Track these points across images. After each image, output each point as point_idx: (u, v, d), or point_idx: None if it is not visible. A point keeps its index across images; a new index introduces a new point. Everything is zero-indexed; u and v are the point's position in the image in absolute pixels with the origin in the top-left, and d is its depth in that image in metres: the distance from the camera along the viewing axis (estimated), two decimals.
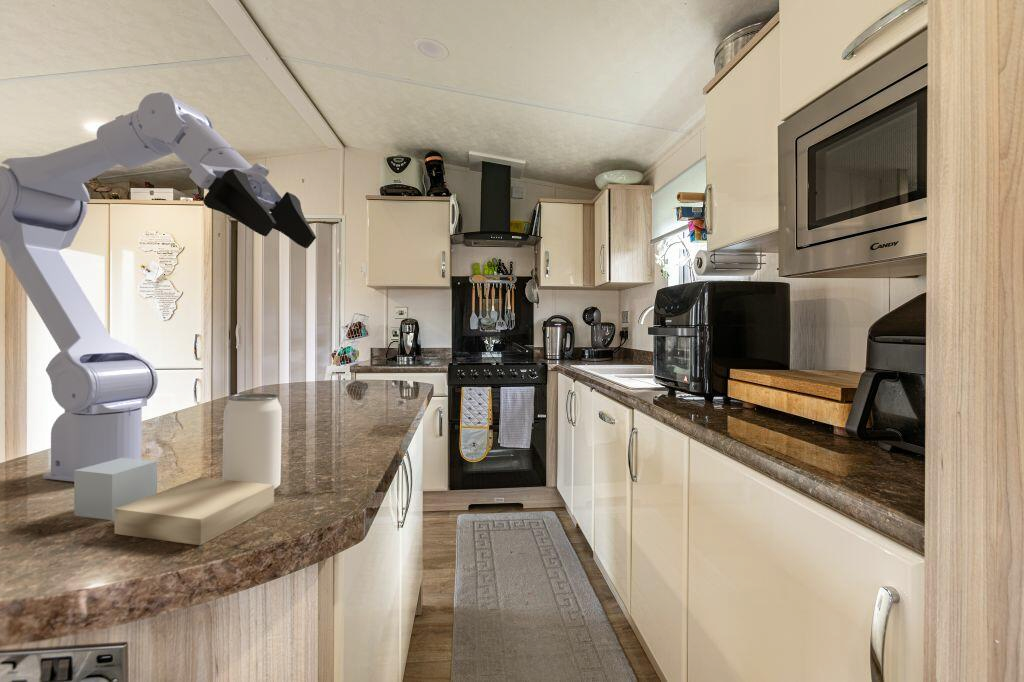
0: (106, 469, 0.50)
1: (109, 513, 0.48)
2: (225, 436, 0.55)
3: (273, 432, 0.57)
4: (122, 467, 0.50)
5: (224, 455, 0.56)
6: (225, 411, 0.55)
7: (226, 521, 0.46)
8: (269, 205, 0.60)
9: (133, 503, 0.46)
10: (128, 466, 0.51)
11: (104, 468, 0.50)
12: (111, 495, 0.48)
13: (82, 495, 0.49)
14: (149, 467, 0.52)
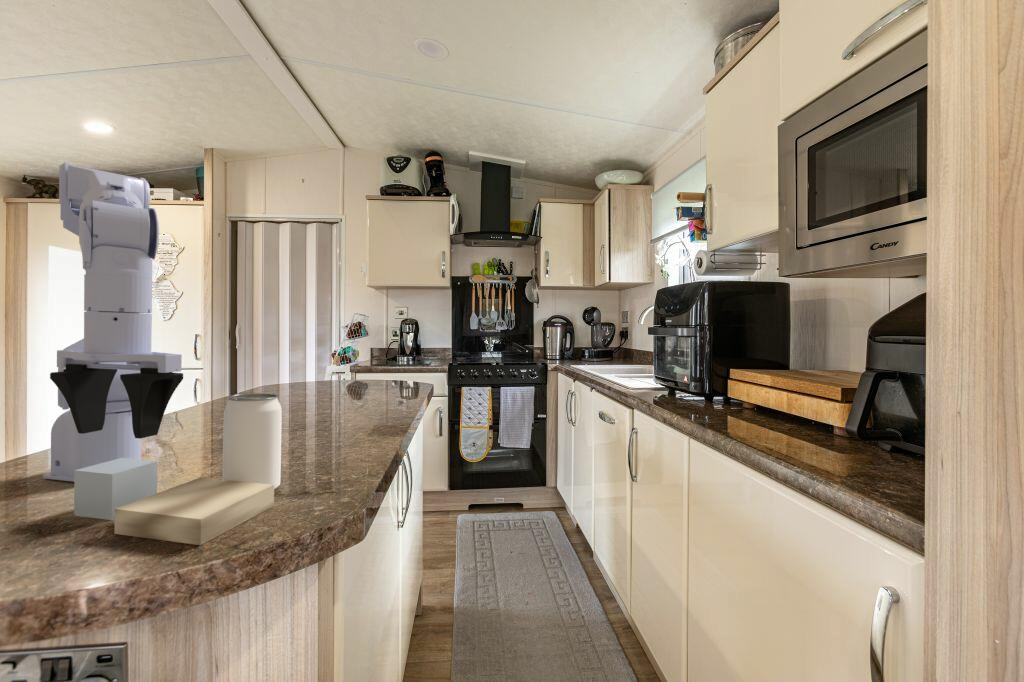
0: (106, 469, 0.50)
1: (109, 513, 0.48)
2: (225, 436, 0.55)
3: (273, 432, 0.57)
4: (122, 467, 0.50)
5: (224, 455, 0.56)
6: (225, 411, 0.55)
7: (226, 521, 0.46)
8: None
9: (133, 503, 0.46)
10: (128, 466, 0.51)
11: (104, 468, 0.50)
12: (111, 495, 0.48)
13: (82, 495, 0.49)
14: (149, 467, 0.52)
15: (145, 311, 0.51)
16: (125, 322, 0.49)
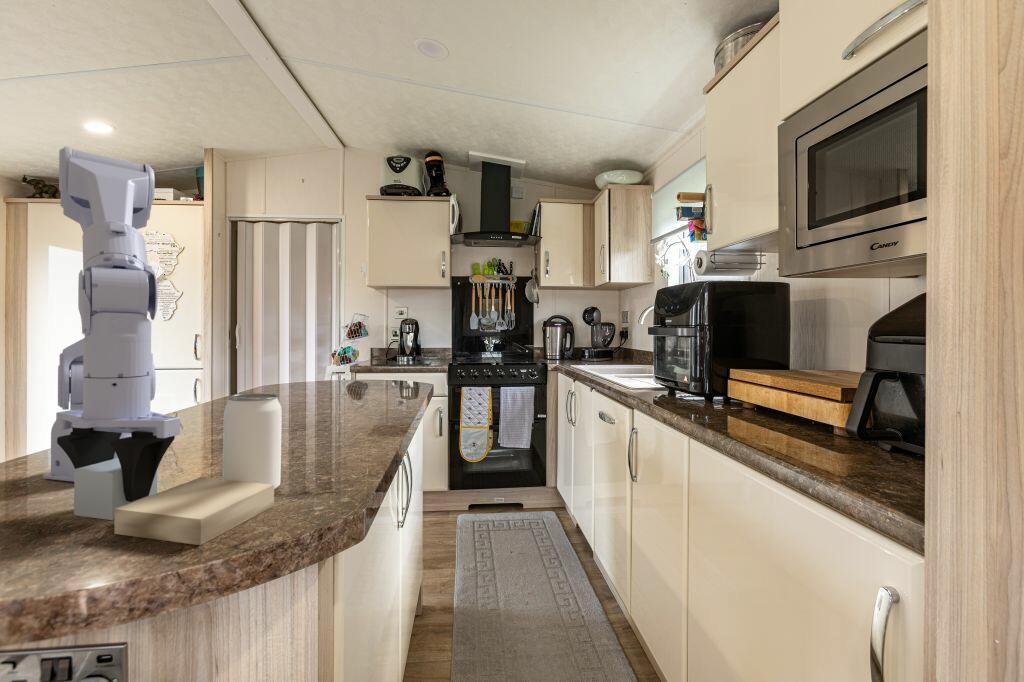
0: (106, 468, 0.50)
1: (109, 512, 0.48)
2: (225, 436, 0.55)
3: (273, 432, 0.57)
4: None
5: (224, 455, 0.56)
6: (225, 411, 0.55)
7: (226, 521, 0.46)
8: None
9: (133, 503, 0.46)
10: None
11: (104, 467, 0.50)
12: (111, 494, 0.48)
13: (83, 494, 0.49)
14: None
15: (144, 374, 0.51)
16: (124, 387, 0.49)
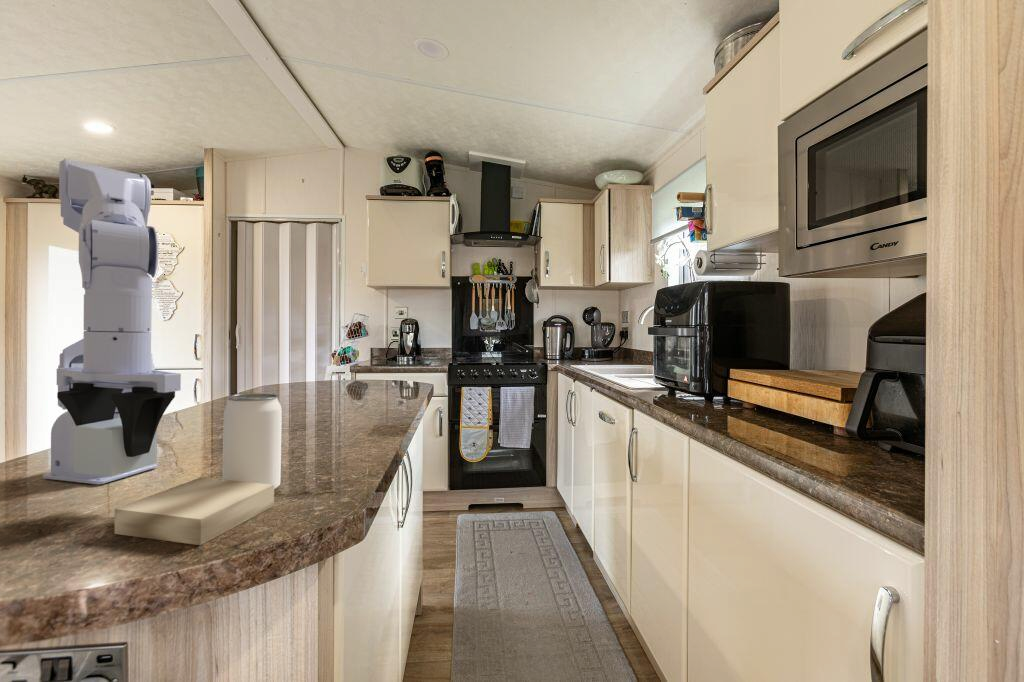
0: (106, 426, 0.49)
1: (109, 469, 0.48)
2: (225, 436, 0.55)
3: (273, 432, 0.57)
4: None
5: (224, 455, 0.56)
6: (225, 411, 0.55)
7: (226, 521, 0.46)
8: None
9: (133, 503, 0.46)
10: None
11: (104, 425, 0.50)
12: (110, 451, 0.48)
13: (82, 451, 0.49)
14: None
15: (144, 330, 0.51)
16: (124, 342, 0.49)
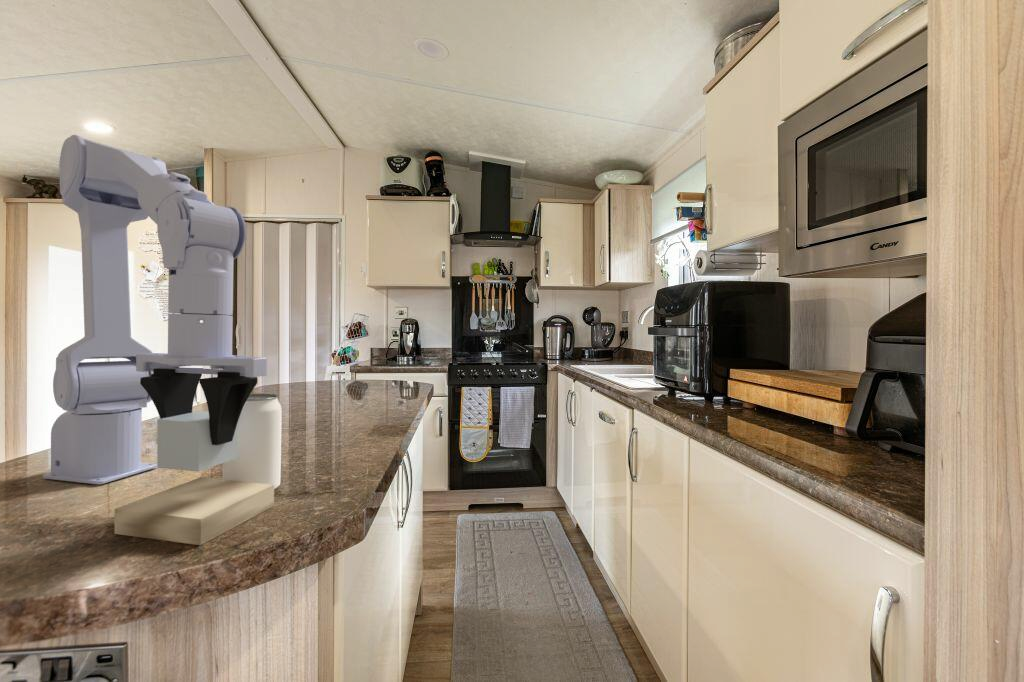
0: (190, 419, 0.47)
1: (195, 463, 0.46)
2: None
3: (273, 432, 0.57)
4: (205, 417, 0.48)
5: None
6: None
7: (226, 521, 0.46)
8: None
9: (133, 503, 0.46)
10: None
11: (187, 418, 0.48)
12: (197, 445, 0.46)
13: (166, 445, 0.47)
14: None
15: (231, 313, 0.49)
16: (211, 324, 0.47)
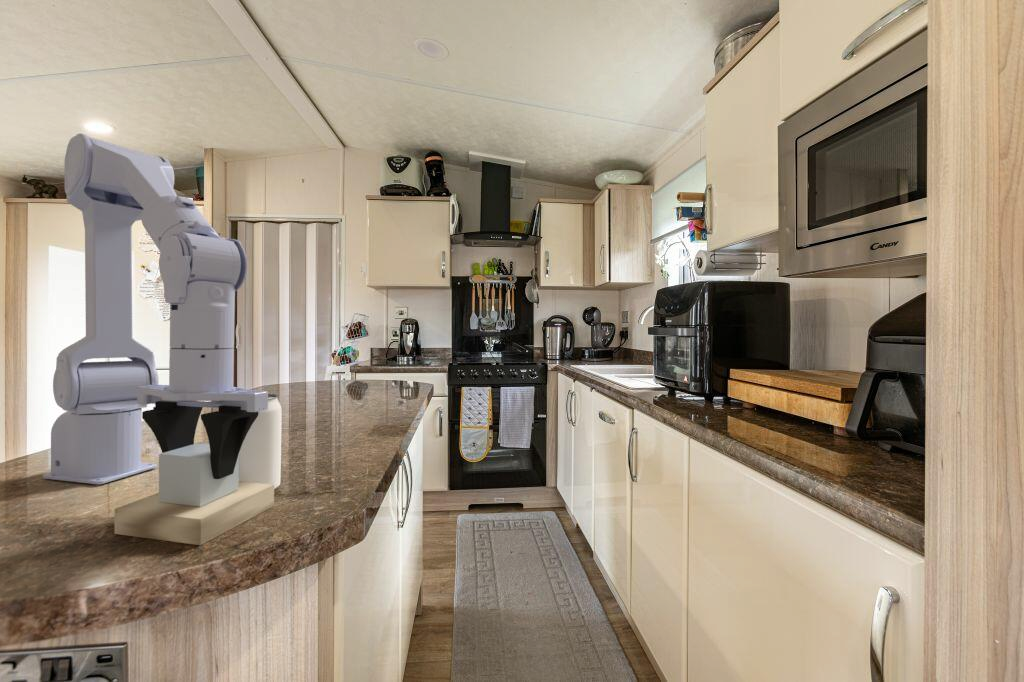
0: (191, 453, 0.47)
1: (197, 498, 0.46)
2: None
3: (273, 432, 0.57)
4: (206, 451, 0.48)
5: None
6: None
7: (226, 521, 0.46)
8: None
9: (133, 503, 0.46)
10: None
11: (189, 452, 0.48)
12: (199, 480, 0.46)
13: (168, 480, 0.47)
14: None
15: (232, 346, 0.49)
16: (212, 359, 0.47)
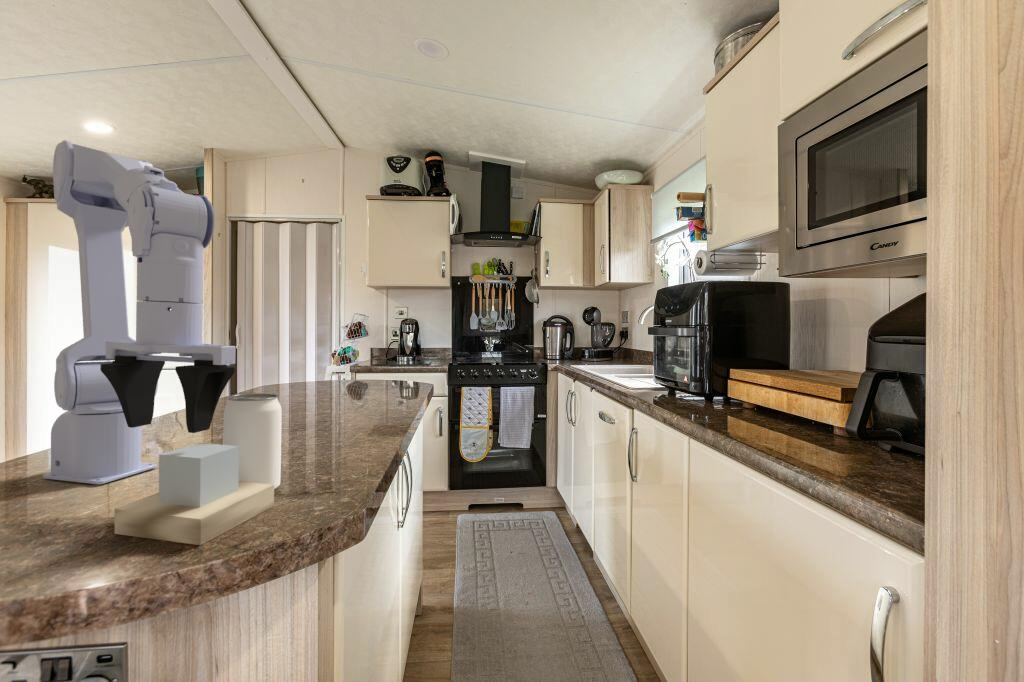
0: (191, 453, 0.47)
1: (197, 499, 0.46)
2: (225, 436, 0.55)
3: (273, 432, 0.57)
4: (206, 451, 0.48)
5: None
6: (225, 411, 0.55)
7: (226, 521, 0.46)
8: (193, 362, 0.49)
9: (133, 503, 0.46)
10: (212, 451, 0.49)
11: (189, 452, 0.48)
12: (199, 481, 0.46)
13: (168, 480, 0.47)
14: (232, 452, 0.50)
15: (200, 301, 0.50)
16: (179, 312, 0.47)
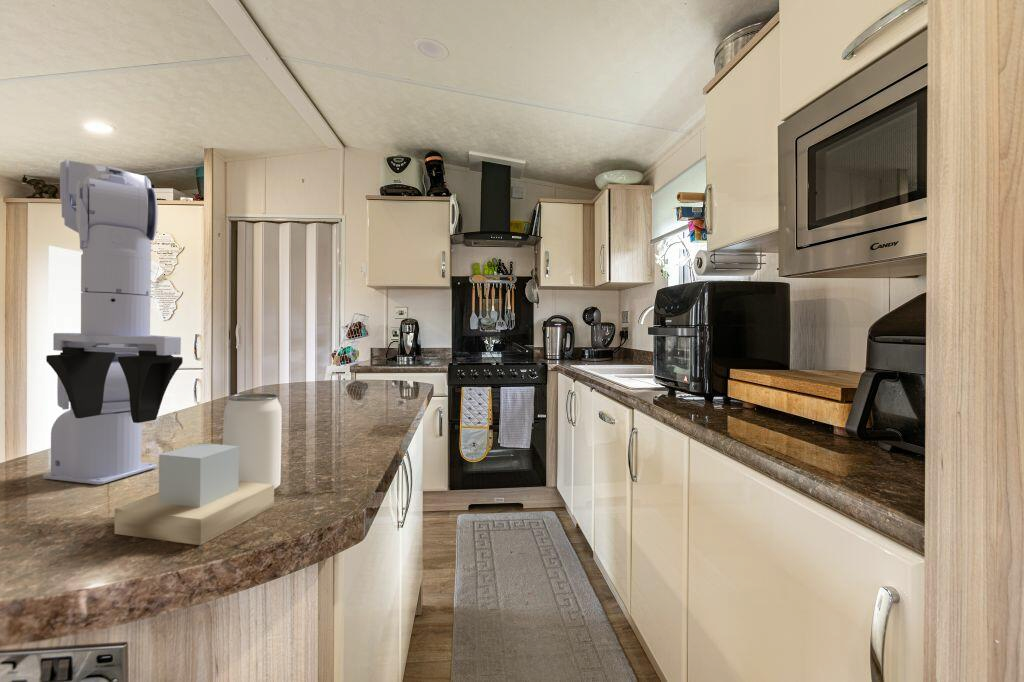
0: (191, 453, 0.47)
1: (197, 499, 0.46)
2: (225, 436, 0.55)
3: (273, 432, 0.57)
4: (206, 451, 0.48)
5: None
6: (225, 411, 0.55)
7: (226, 521, 0.46)
8: None
9: (133, 503, 0.46)
10: (212, 451, 0.49)
11: (189, 452, 0.48)
12: (199, 481, 0.46)
13: (168, 480, 0.47)
14: (232, 452, 0.50)
15: (143, 293, 0.49)
16: (123, 303, 0.48)
